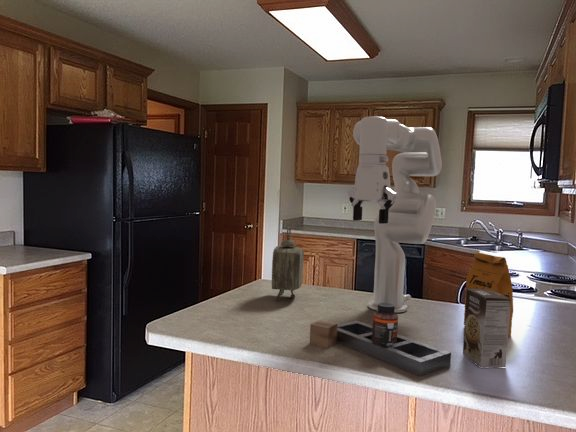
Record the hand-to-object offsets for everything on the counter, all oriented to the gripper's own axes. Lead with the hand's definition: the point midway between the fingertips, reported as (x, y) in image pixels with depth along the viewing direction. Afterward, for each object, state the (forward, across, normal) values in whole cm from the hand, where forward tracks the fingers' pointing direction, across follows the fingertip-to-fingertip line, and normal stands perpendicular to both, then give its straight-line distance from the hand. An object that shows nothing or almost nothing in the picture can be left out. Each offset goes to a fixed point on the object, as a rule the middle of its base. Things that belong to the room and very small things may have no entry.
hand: (370, 221), depth 134 cm
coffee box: (+30, -36, -1) cm, 46 cm away
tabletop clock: (+30, +35, +1) cm, 47 cm away
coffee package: (+30, -24, -24) cm, 45 cm away
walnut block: (+29, -6, +23) cm, 37 cm away
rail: (+29, -18, +14) cm, 37 cm away
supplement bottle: (+29, -18, +14) cm, 37 cm away
